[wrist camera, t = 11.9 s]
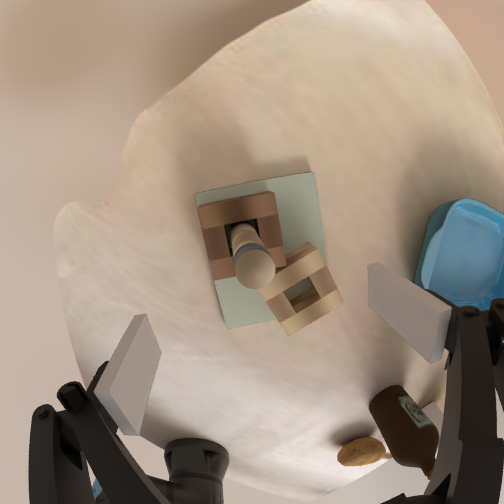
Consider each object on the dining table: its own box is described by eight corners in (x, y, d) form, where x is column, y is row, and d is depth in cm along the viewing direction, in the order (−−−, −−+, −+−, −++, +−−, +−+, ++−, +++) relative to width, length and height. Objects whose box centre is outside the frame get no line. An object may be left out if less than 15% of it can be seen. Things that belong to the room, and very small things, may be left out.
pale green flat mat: (226, 325, 41) (227, 329, 40) (195, 193, 35) (194, 194, 34) (327, 302, 41) (330, 305, 40) (311, 171, 36) (314, 171, 35)
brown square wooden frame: (215, 270, 37) (214, 280, 33) (200, 204, 34) (197, 208, 31) (280, 256, 37) (286, 265, 34) (268, 190, 35) (274, 192, 31)
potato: (342, 432, 52) (353, 455, 45) (384, 428, 55) (396, 448, 47) (325, 453, 55) (333, 475, 47) (365, 449, 57) (375, 468, 49)
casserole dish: (384, 307, 43) (406, 326, 37) (414, 181, 38) (443, 184, 31) (486, 307, 48) (503, 318, 42) (509, 222, 43) (529, 228, 36)
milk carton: (433, 400, 55) (466, 442, 37) (430, 412, 57) (460, 452, 39) (413, 413, 55) (445, 458, 37) (411, 424, 57) (440, 467, 39)
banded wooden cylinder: (232, 243, 36) (239, 293, 21) (227, 220, 35) (230, 255, 20) (255, 238, 36) (278, 284, 21) (251, 216, 36) (272, 246, 20)
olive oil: (384, 416, 53) (427, 486, 29) (357, 412, 51) (401, 494, 27) (412, 386, 51) (465, 454, 27) (387, 379, 49) (445, 460, 25)
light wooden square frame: (282, 322, 40) (288, 336, 36) (252, 275, 38) (255, 286, 34) (333, 291, 40) (344, 302, 36) (308, 241, 37) (317, 248, 33)
